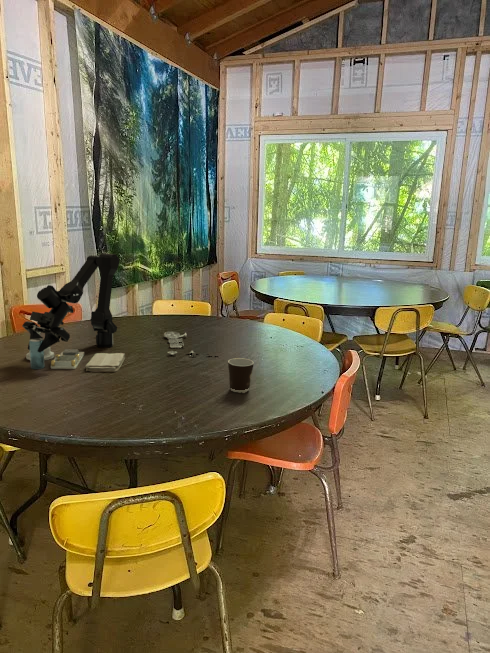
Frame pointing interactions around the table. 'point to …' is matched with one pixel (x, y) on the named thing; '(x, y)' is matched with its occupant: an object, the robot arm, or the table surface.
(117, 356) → the washcloth
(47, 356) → the mechanical component
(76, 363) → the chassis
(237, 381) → the dark brown cup
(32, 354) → the cylinder
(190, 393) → the table surface
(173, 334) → the drone parts
